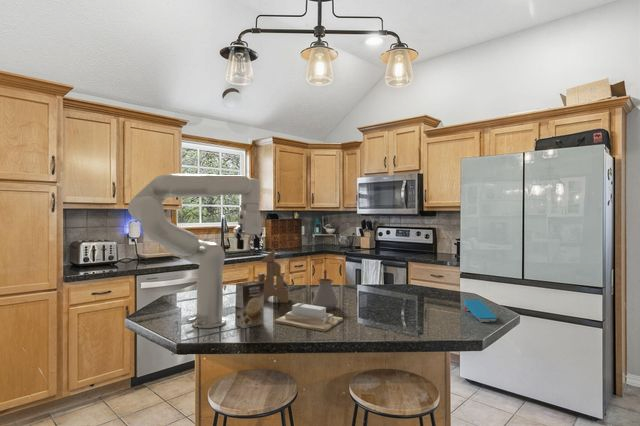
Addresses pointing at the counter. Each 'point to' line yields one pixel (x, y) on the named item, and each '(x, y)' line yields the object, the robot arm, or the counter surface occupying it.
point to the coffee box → (249, 304)
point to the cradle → (309, 321)
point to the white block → (309, 310)
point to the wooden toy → (272, 271)
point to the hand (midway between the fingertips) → (248, 248)
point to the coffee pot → (325, 294)
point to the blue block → (479, 309)
